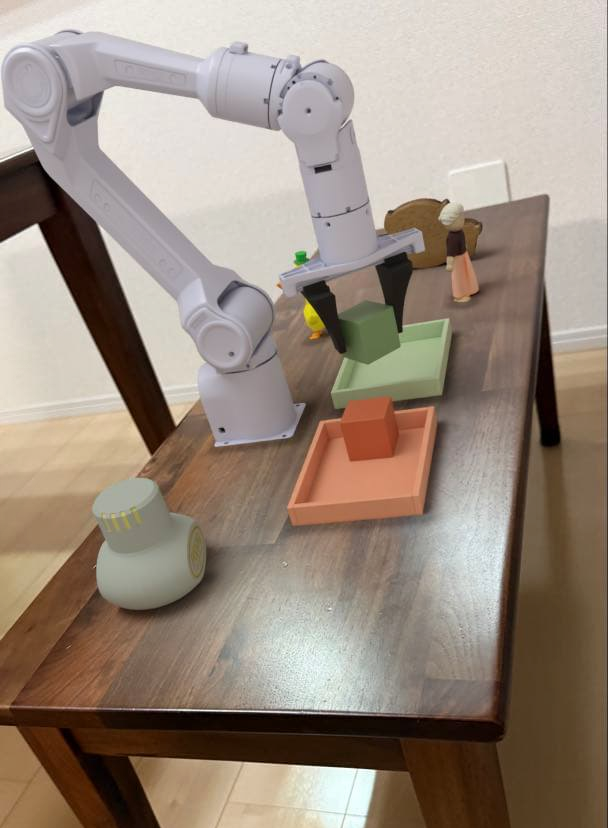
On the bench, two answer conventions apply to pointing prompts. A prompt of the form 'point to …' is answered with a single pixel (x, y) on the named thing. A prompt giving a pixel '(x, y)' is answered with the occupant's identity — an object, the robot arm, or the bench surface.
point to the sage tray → (399, 367)
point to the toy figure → (308, 311)
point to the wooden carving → (429, 229)
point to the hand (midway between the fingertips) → (369, 340)
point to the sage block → (369, 331)
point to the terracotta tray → (365, 475)
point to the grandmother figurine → (458, 253)
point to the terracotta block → (370, 428)
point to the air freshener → (145, 547)
